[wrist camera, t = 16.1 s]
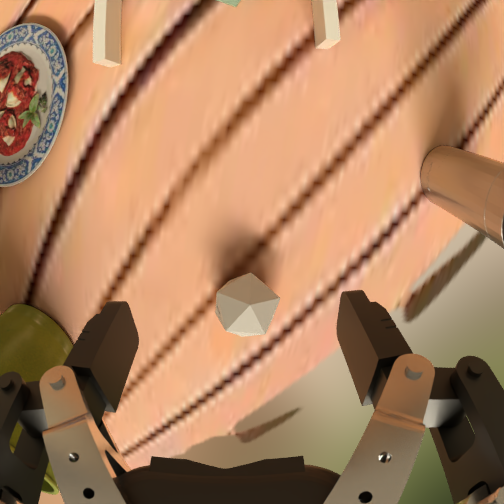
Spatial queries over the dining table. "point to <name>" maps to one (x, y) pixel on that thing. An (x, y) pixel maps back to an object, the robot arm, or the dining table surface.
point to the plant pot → (31, 356)
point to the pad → (230, 2)
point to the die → (246, 305)
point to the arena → (110, 29)
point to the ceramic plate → (29, 99)
